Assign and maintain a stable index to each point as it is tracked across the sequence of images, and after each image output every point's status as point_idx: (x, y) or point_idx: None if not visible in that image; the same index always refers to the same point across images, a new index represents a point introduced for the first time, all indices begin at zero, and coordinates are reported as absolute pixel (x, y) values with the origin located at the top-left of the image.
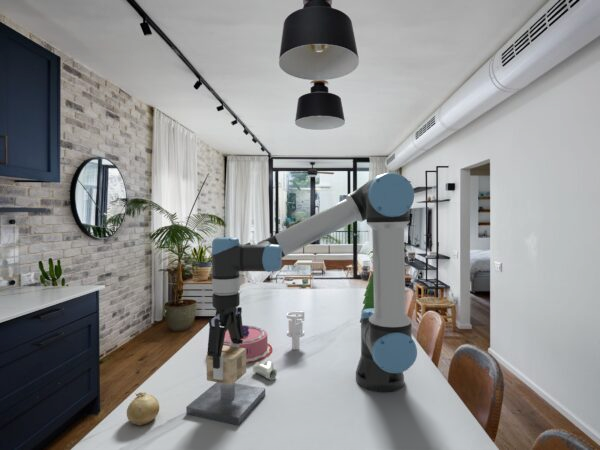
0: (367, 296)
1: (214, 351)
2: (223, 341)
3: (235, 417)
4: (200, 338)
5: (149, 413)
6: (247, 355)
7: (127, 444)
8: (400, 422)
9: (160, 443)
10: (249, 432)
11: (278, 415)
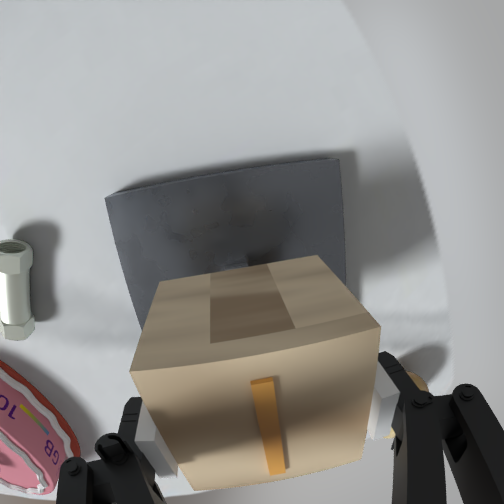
0: None
1: (485, 411)
2: (412, 483)
3: (339, 172)
4: (49, 496)
5: (416, 379)
6: (3, 390)
7: (451, 340)
8: None
9: (443, 292)
10: (342, 105)
11: (212, 65)
